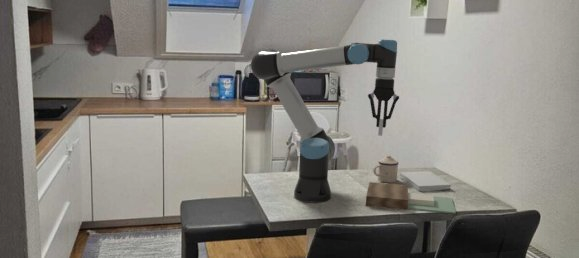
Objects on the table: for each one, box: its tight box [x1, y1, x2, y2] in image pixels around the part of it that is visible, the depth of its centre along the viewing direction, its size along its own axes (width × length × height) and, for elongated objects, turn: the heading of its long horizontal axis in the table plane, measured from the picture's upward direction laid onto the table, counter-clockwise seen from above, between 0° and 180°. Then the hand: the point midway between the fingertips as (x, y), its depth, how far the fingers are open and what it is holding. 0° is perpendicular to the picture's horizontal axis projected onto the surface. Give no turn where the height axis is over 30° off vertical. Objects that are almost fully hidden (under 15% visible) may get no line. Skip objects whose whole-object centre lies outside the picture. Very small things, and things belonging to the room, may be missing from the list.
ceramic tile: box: [408, 192, 434, 206], centre depth 211 cm, size 10×8×2 cm
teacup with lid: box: [373, 155, 399, 184], centre depth 242 cm, size 12×9×12 cm
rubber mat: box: [407, 195, 457, 215], centre depth 211 cm, size 18×18×1 cm
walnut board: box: [365, 181, 409, 211], centre depth 214 cm, size 16×20×4 cm
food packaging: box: [399, 170, 452, 192], centre depth 239 cm, size 15×3×20 cm
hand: (380, 134), depth 218 cm, fingers closed
